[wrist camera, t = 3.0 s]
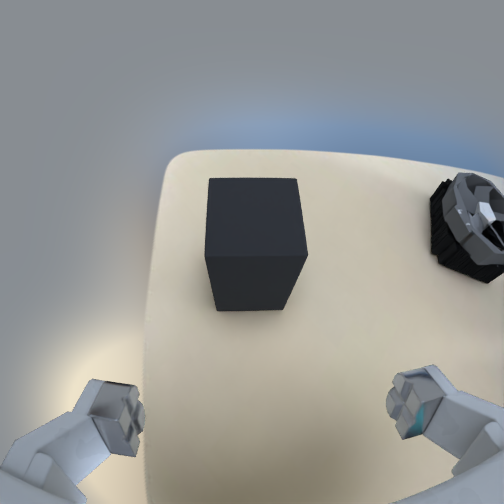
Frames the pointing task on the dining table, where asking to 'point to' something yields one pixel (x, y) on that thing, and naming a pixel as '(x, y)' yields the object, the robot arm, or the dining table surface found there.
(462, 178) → the cpu cooler
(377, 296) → the dining table surface
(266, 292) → the tall charcoal block
